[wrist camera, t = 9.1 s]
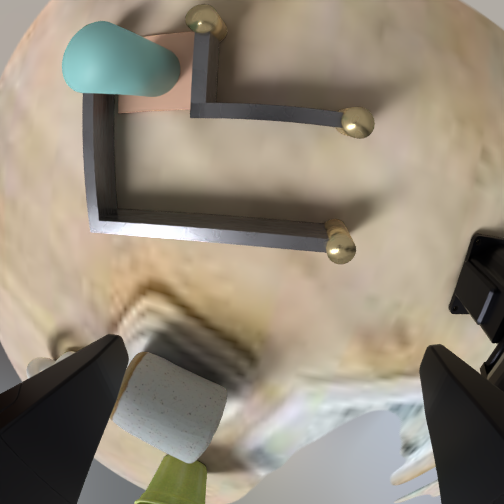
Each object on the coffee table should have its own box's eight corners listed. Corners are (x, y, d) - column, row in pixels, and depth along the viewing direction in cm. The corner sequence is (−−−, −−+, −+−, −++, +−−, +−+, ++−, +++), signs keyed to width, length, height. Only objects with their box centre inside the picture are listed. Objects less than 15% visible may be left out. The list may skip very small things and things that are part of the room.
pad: (198, 32, 15) (197, 31, 14) (194, 109, 17) (192, 109, 17) (124, 41, 15) (122, 40, 15) (120, 113, 17) (118, 113, 17)
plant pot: (140, 453, 35) (121, 502, 27) (177, 441, 31) (159, 500, 24) (191, 481, 37) (179, 527, 29) (233, 471, 34) (224, 526, 26)
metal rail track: (365, 31, 14) (379, 18, 11) (344, 244, 19) (353, 265, 17) (103, 35, 15) (78, 27, 12) (104, 224, 20) (82, 240, 18)
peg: (133, 51, 15) (65, 30, 9) (182, 45, 15) (128, 14, 9) (130, 98, 16) (60, 98, 10) (178, 95, 16) (121, 87, 10)
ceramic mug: (145, 329, 24) (106, 398, 17) (234, 371, 25) (218, 448, 18) (123, 390, 29) (95, 446, 22) (193, 423, 29) (175, 482, 23)
